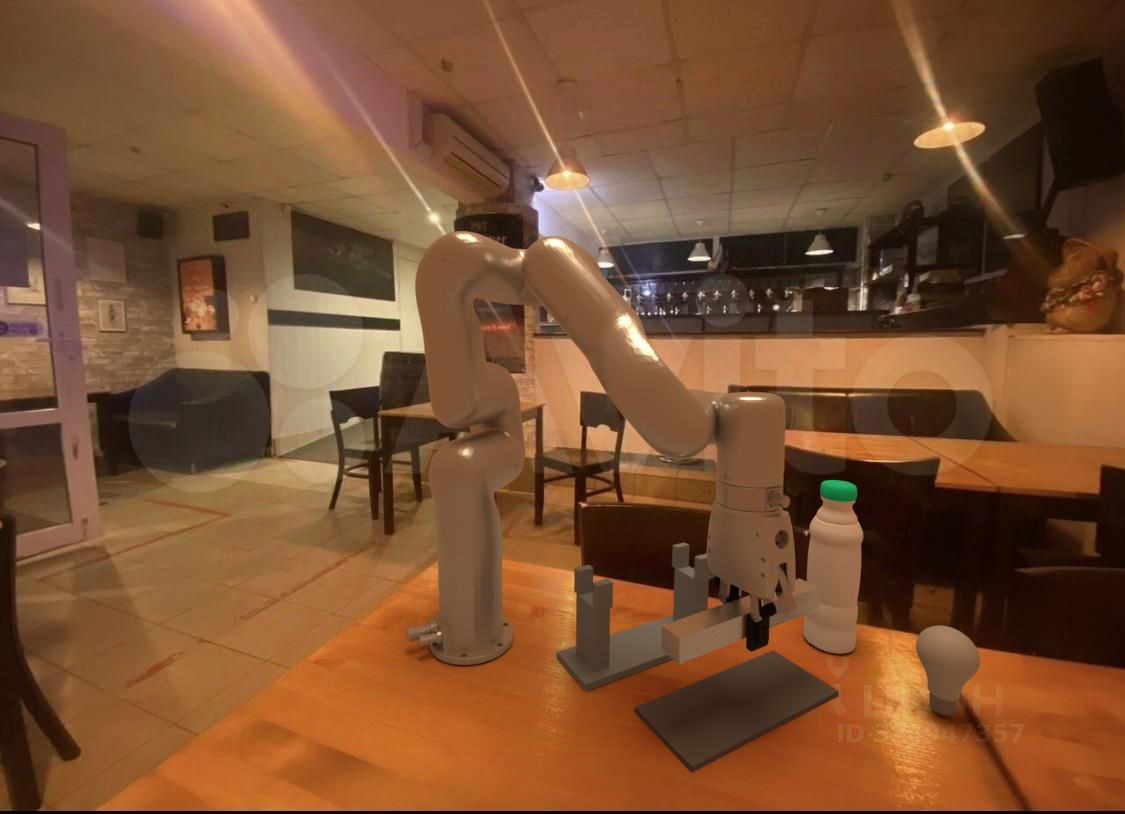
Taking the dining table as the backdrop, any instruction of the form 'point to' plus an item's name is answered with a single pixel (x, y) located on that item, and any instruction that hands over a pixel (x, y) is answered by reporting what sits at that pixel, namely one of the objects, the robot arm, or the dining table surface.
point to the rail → (727, 624)
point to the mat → (733, 707)
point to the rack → (632, 648)
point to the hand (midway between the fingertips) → (745, 638)
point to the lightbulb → (946, 665)
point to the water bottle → (834, 569)
